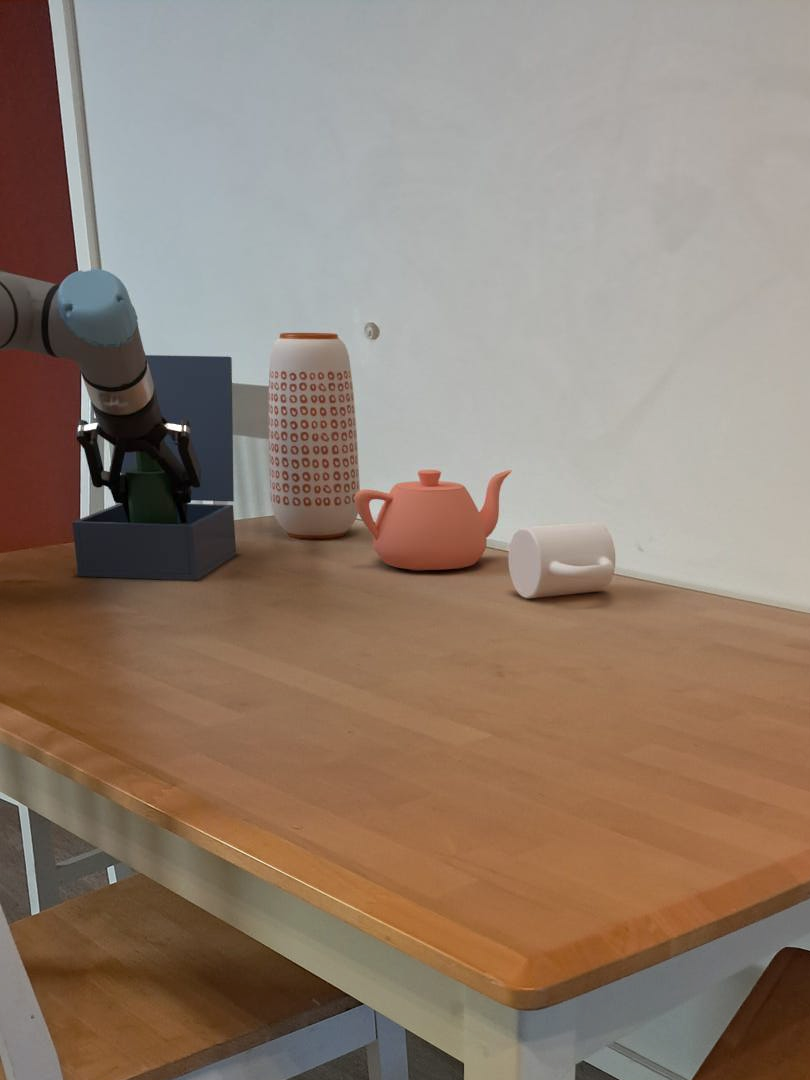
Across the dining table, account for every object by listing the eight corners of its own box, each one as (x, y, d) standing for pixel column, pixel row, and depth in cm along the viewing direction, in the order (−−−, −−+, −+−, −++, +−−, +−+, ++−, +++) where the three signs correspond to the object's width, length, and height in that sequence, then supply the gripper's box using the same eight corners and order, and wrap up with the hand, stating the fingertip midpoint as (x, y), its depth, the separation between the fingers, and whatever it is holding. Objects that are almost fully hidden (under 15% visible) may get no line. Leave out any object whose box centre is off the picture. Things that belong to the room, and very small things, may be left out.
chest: (196, 580, 161) (192, 525, 158) (78, 576, 162) (71, 522, 160) (236, 554, 177) (233, 504, 174) (128, 551, 178) (123, 501, 176)
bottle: (126, 552, 165) (115, 447, 160) (142, 544, 171) (132, 443, 166) (170, 553, 165) (162, 449, 160) (185, 545, 170) (177, 444, 165)
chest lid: (229, 356, 169) (244, 363, 176) (116, 354, 171) (134, 361, 177) (232, 501, 174) (245, 502, 180) (121, 498, 175) (139, 499, 182)
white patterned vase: (353, 542, 186) (347, 335, 175) (264, 541, 187) (252, 334, 176) (366, 527, 199) (361, 332, 187) (282, 526, 199) (272, 331, 188)
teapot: (490, 549, 183) (492, 460, 178) (531, 569, 170) (534, 474, 165) (342, 558, 175) (339, 465, 170) (372, 579, 163) (370, 480, 158)
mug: (506, 591, 157) (508, 522, 154) (579, 584, 162) (582, 517, 158) (557, 612, 147) (560, 539, 144) (633, 604, 151) (637, 533, 148)
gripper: (35, 418, 146) (83, 538, 168) (203, 419, 147) (229, 538, 169) (41, 366, 149) (87, 491, 170) (206, 368, 150) (231, 491, 172)
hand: (158, 514), depth 170 cm, fingers closed on bottle, 6 cm apart
